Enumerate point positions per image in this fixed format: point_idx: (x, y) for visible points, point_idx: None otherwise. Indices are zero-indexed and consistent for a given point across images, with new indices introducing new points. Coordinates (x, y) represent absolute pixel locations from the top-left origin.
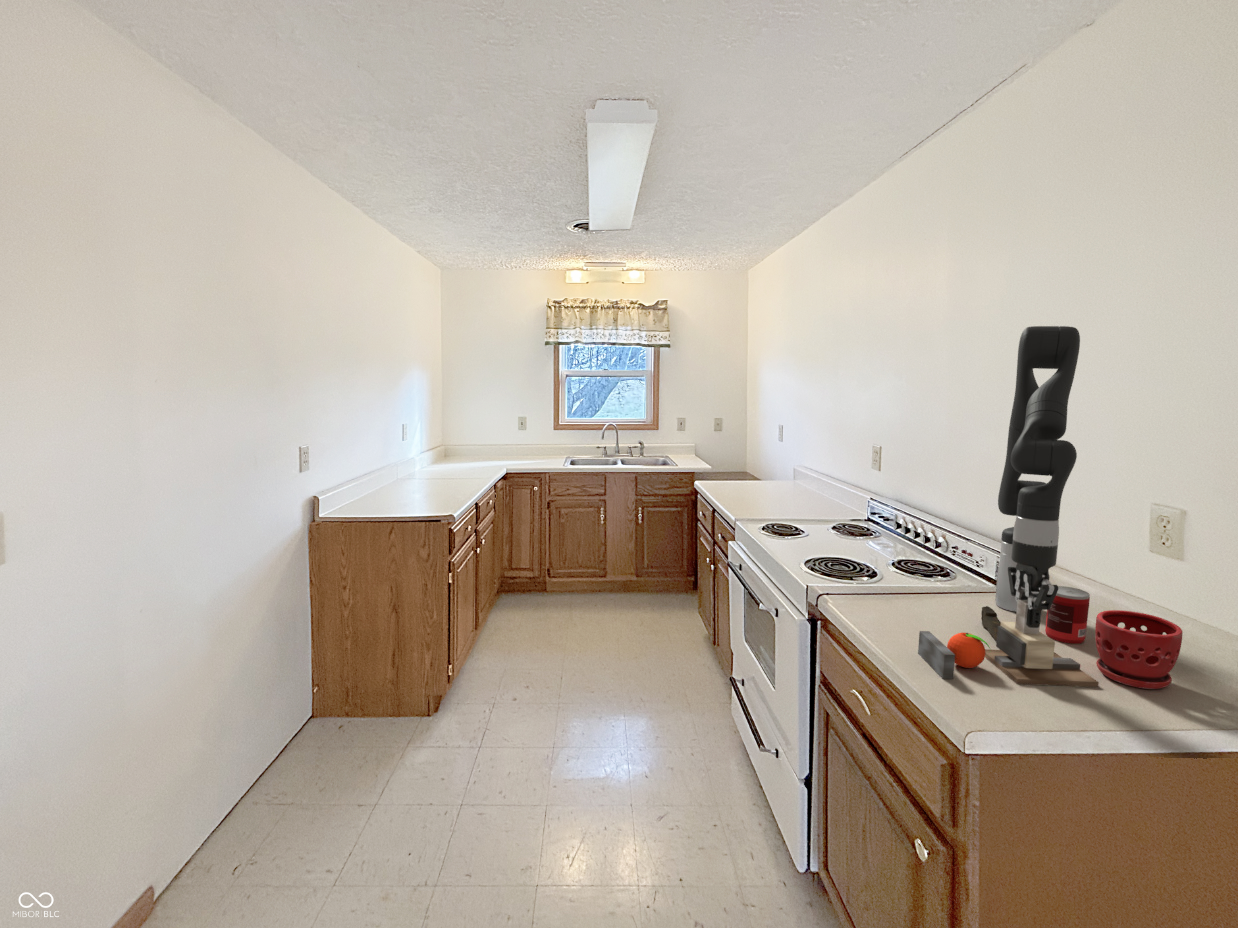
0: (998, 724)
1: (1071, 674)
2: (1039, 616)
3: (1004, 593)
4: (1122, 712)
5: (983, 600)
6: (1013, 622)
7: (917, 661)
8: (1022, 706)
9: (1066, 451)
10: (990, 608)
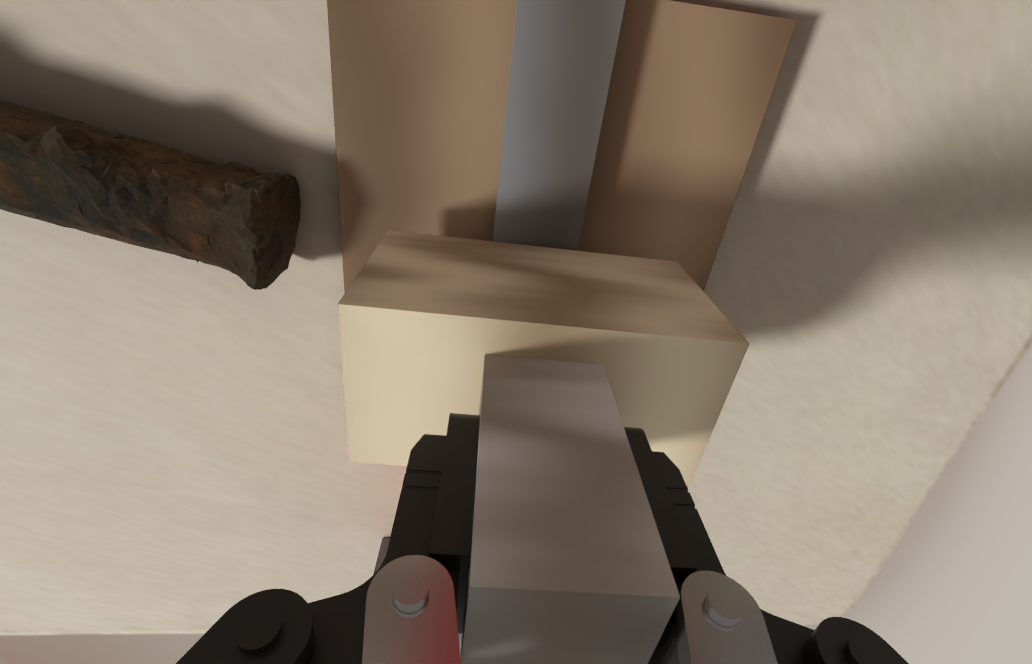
0: (852, 564)
1: (674, 121)
2: (702, 536)
3: None
4: (1011, 136)
5: None
6: (357, 395)
7: None
8: (801, 467)
9: None
10: None
